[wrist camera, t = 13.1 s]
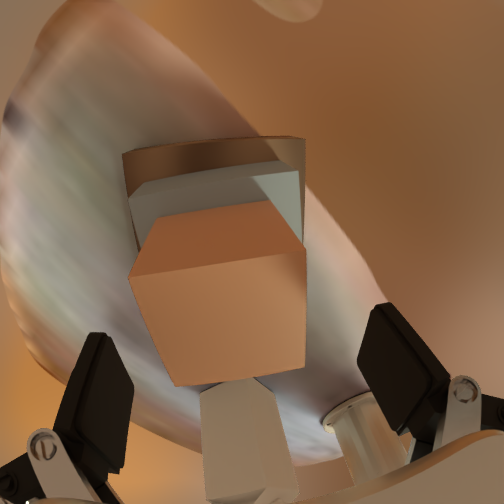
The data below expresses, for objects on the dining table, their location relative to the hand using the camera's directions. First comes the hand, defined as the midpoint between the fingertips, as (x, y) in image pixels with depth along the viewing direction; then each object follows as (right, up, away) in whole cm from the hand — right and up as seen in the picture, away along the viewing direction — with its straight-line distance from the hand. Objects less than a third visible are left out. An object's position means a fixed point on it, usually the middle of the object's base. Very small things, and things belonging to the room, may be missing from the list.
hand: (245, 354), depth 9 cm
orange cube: (-1, +3, +6) cm, 7 cm away
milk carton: (-2, -15, +24) cm, 28 cm away
